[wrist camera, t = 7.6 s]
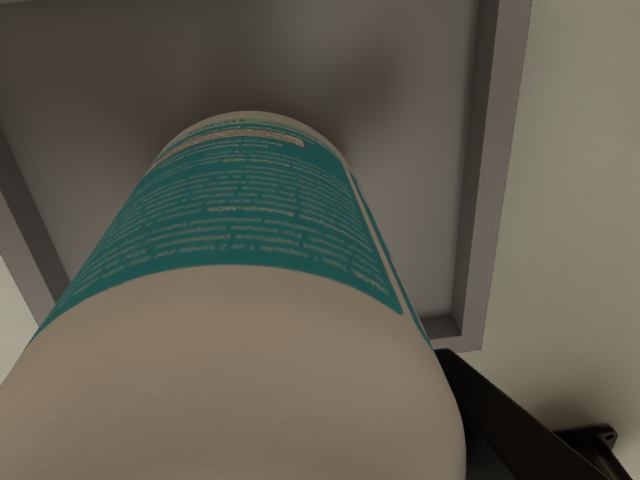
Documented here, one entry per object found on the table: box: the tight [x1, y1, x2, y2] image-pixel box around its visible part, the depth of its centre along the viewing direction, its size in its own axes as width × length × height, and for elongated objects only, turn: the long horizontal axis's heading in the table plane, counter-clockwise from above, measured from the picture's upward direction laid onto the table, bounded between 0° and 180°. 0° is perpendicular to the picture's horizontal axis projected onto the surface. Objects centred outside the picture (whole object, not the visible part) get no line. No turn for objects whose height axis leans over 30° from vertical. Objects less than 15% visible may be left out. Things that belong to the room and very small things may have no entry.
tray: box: [0, 0, 533, 353], centre depth 16 cm, size 18×16×2 cm
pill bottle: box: [0, 111, 466, 480], centre depth 10 cm, size 8×7×14 cm
